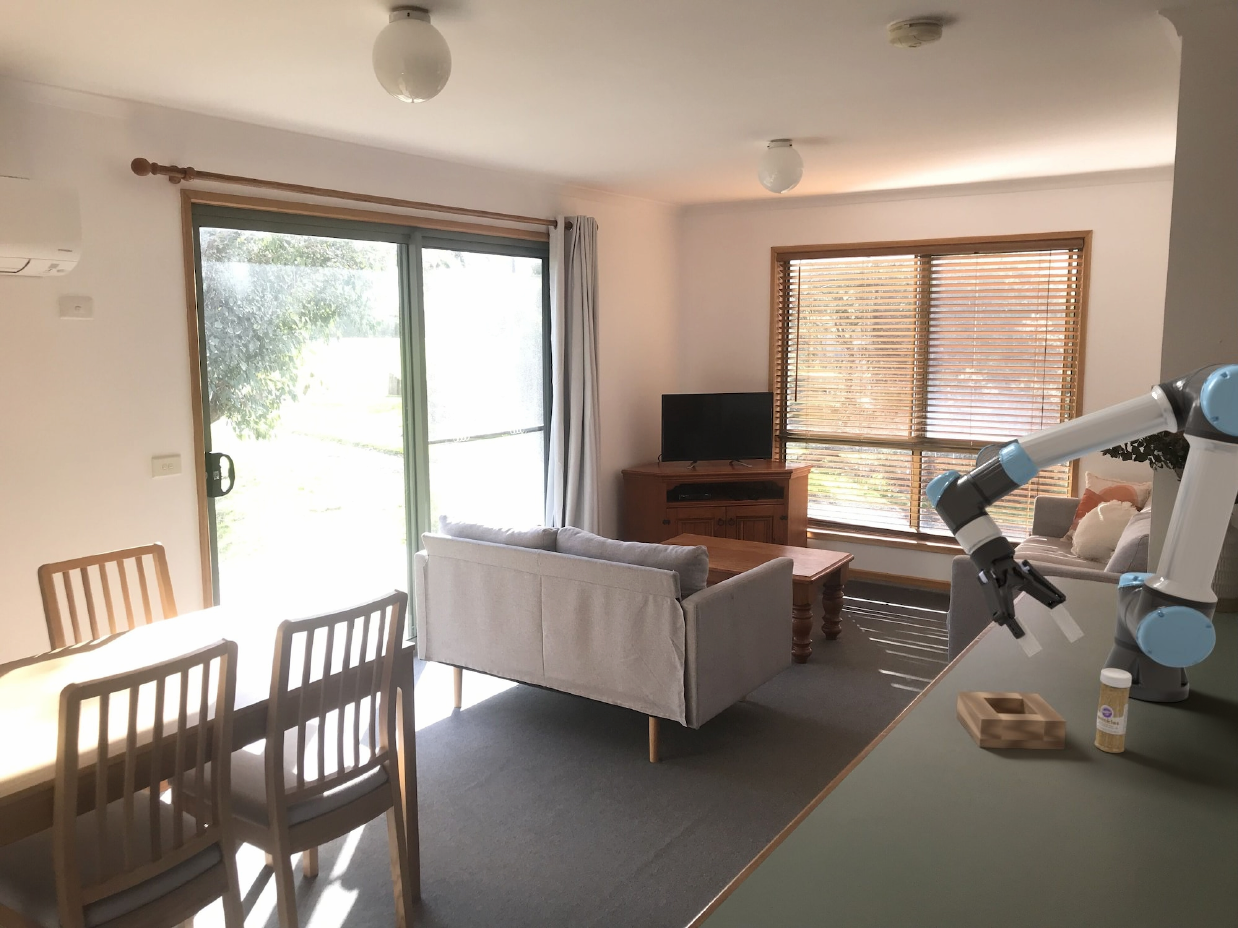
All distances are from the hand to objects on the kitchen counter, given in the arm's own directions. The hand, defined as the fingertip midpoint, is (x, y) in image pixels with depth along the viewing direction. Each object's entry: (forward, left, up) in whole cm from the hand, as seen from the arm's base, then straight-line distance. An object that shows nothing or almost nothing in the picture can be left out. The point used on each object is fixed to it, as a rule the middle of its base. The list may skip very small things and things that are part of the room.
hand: (1057, 645), depth 161 cm
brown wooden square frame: (+9, +3, -15) cm, 18 cm away
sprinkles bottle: (-6, +8, -15) cm, 18 cm away
